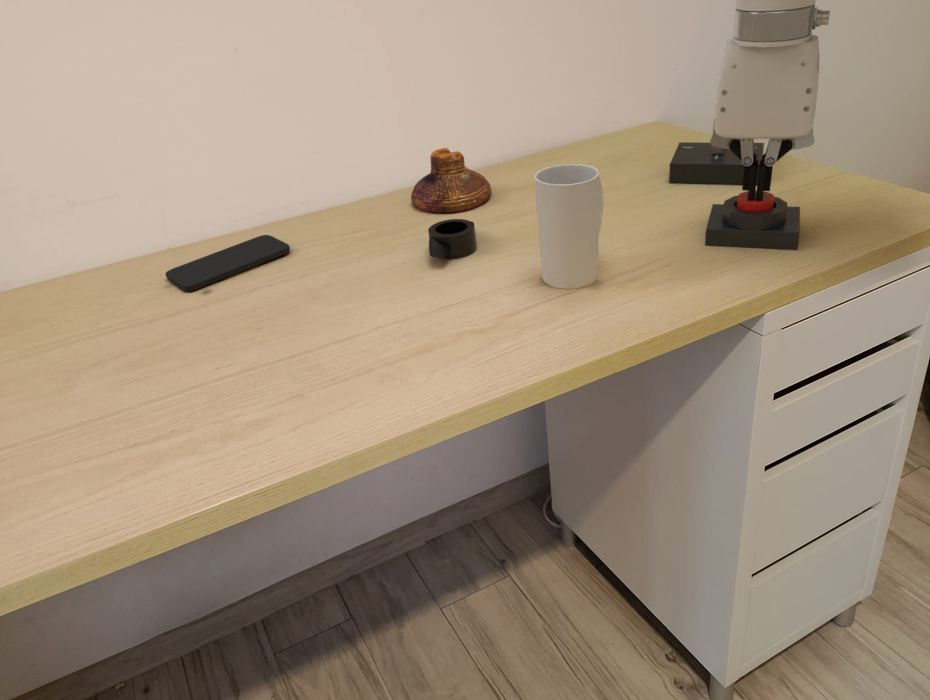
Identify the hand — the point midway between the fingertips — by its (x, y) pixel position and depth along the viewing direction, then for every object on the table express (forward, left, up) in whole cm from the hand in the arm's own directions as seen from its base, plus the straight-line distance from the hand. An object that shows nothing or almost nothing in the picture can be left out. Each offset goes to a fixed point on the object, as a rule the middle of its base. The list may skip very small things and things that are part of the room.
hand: (755, 196), depth 86 cm
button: (0, 0, -2) cm, 2 cm away
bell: (+42, -8, -5) cm, 43 cm away
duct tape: (+35, +9, -5) cm, 36 cm away
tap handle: (+6, -24, -2) cm, 25 cm away
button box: (0, 0, -5) cm, 5 cm away
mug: (+18, +13, -5) cm, 23 cm away
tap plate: (+6, -24, -5) cm, 25 cm away
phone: (+63, +18, -5) cm, 66 cm away
